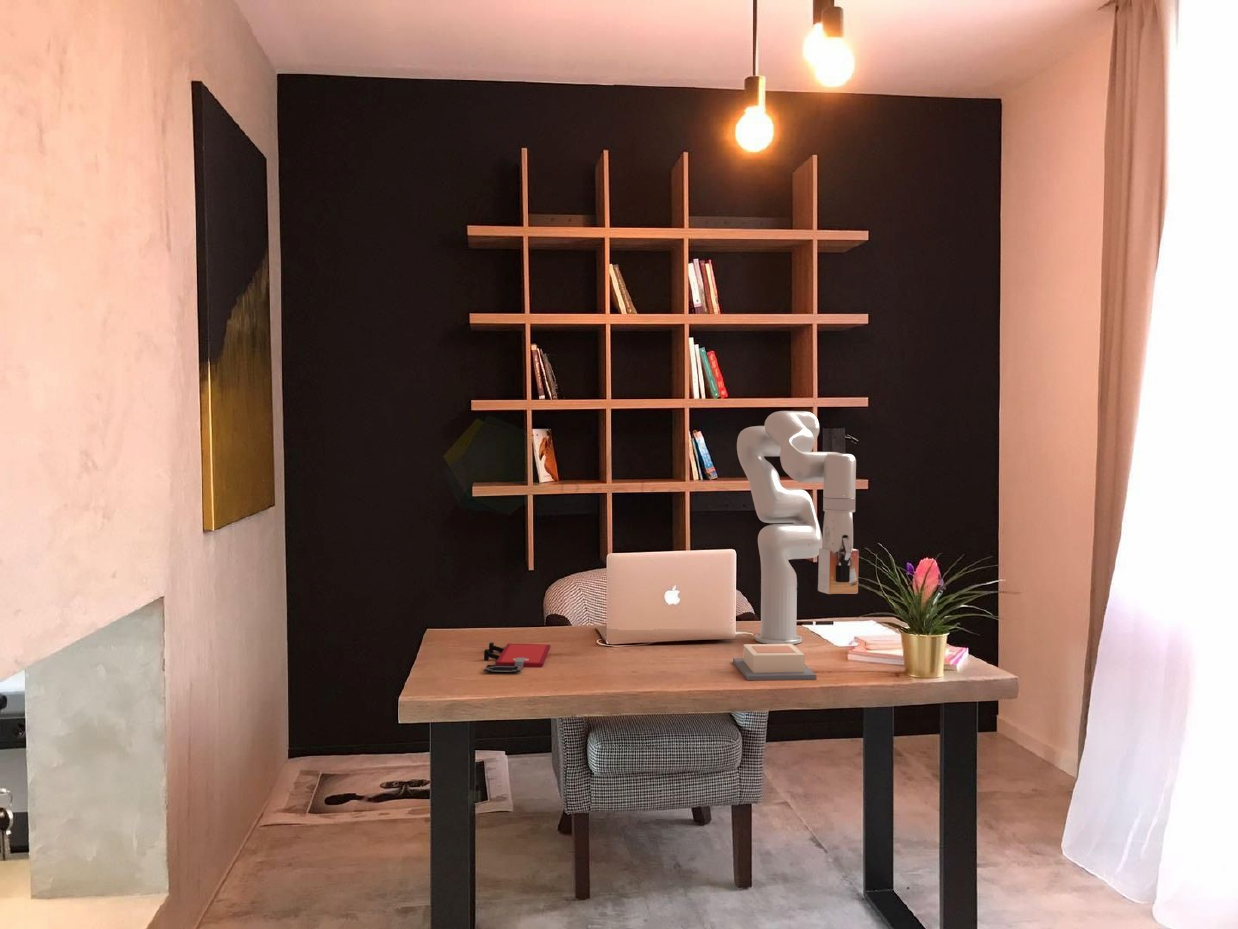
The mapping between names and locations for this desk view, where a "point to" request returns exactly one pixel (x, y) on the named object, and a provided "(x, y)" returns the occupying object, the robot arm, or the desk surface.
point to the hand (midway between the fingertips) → (838, 579)
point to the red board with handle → (516, 656)
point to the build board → (772, 675)
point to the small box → (829, 573)
